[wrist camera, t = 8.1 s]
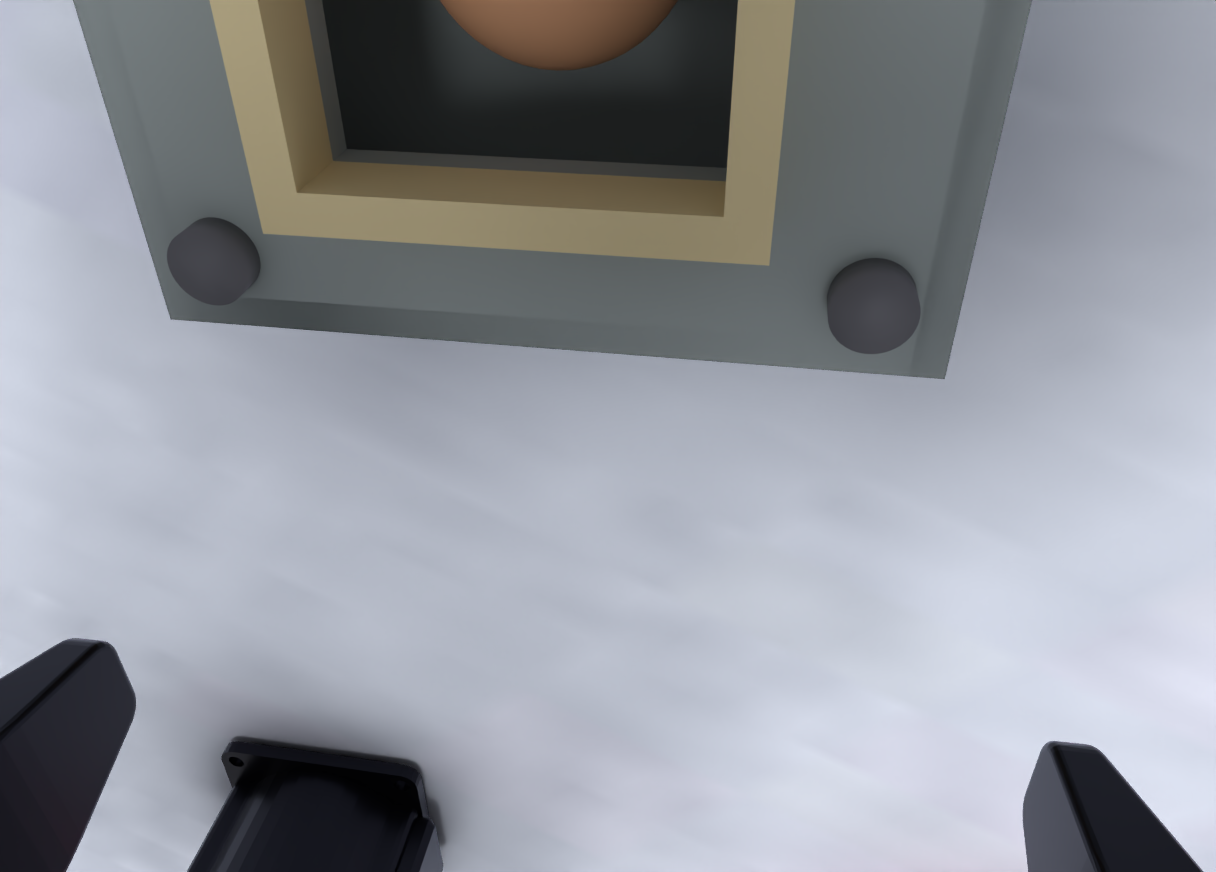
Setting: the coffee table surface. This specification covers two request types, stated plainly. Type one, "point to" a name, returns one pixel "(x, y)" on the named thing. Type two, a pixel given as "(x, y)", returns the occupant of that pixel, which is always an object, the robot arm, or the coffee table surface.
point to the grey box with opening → (569, 174)
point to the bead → (559, 28)
